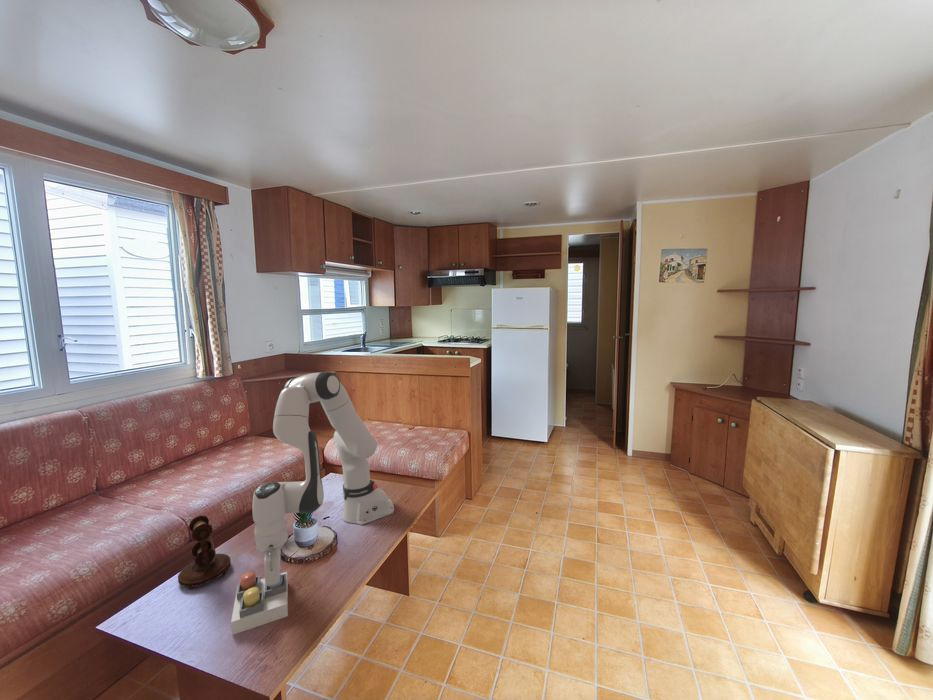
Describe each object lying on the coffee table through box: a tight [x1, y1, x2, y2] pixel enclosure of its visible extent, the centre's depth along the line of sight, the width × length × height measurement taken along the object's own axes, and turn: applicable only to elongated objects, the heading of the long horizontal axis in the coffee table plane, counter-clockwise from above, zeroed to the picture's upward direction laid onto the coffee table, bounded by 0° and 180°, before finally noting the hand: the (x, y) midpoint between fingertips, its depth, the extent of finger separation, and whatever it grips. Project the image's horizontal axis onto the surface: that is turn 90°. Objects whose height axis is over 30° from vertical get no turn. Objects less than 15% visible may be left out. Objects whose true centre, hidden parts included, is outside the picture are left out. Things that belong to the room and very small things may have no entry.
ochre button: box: [243, 587, 260, 607], centre depth 107 cm, size 4×4×3 cm
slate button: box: [268, 573, 283, 590], centre depth 115 cm, size 4×4×3 cm
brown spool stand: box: [177, 515, 232, 590], centre depth 126 cm, size 15×15×20 cm
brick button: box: [239, 571, 257, 590], centre depth 114 cm, size 4×4×3 cm
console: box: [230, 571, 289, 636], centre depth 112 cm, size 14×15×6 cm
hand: (275, 578), depth 114 cm, fingers closed, pressing on slate button
